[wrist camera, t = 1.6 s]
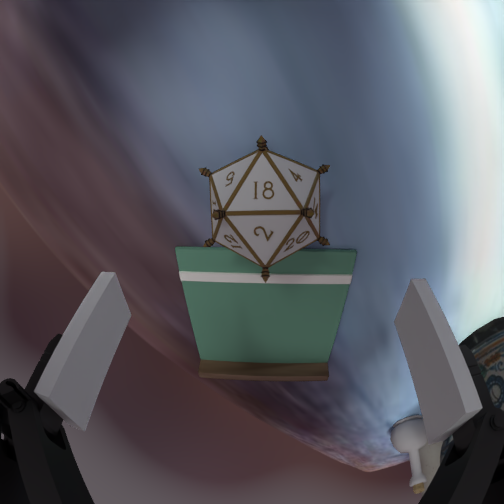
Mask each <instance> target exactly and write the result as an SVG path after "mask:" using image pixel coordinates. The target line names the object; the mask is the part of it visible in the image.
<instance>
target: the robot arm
mask: <svg viewBox="0 0 504 504" xmlns="http://www.w3.org/2000/svg"><path fill="white" fill-rule="evenodd" d="M130 317H131V313H130V311H129V308H128V306H127V303H126V301H125V298H124V295H123V293H122V290H121V287H120V284H119V282H118V279H117V276H116V273H113V272H101V274H100V275H99V277H98V278H97V280H96V281H95V283H94V284H93V286H92V287H91V289H90V291H89V292H88V294H87V295H86V297H85V299H84V300H83V302H82V303H81V305H80V307H79V308H78V310H77V312H76V314H75V315H74V317H73V318H72V320H71V322H70V324H69V325H68V327H67V329H66V330H65V332H64V334H63V335H61V334H58V335H56V336H55V337H54V338H53V339H52V340H51V341H50V342H49V344H48V346H47V348H46V350H45V351H44V354H43V355H42V357H41V359H40V361H39V362H38V364H37V366H36V368H35V370H34V372H33V374H32V376H31V378H30V380H29V382H28V384H27V386H26V388H25V389H23V388H22V387H21V386H20V385H19V384H18V382H16V380H15V379H11V378H9V379H6V380H4V381H2V382H1V383H0V504H94V502H93V500H92V498H91V496H90V494H89V491H88V489H87V487H86V485H85V482H84V480H83V478H82V475H81V473H80V471H79V468H78V466H77V463H76V461H75V459H74V456H73V453H72V450H71V448H70V445H69V442H68V439H67V436H66V433H65V430H64V428H63V426H62V425H61V424H62V421H63V420H64V421H65V422H66V423H68V424H69V425H70V426H72V427H75V428H77V429H80V430H83V431H85V429H86V426H87V423H88V421H89V418H90V415H91V412H92V409H93V406H94V404H95V401H96V398H97V396H98V393H99V391H100V388H101V385H102V383H103V380H104V378H105V375H106V373H107V370H108V368H109V365H110V363H111V361H112V358H113V356H114V353H115V351H116V349H117V346H118V344H119V342H120V339H121V337H122V335H123V333H124V330H125V328H126V326H127V324H128V321H129V319H130ZM394 323H395V326H396V329H397V332H398V335H399V338H400V341H401V344H402V347H403V350H404V353H405V356H406V359H407V362H408V366H409V369H410V372H411V376H412V379H413V383H414V386H415V390H416V394H417V397H418V401H419V405H420V409H421V413H422V417H423V421H424V426H425V430H426V434H427V439H428V444H433V443H437V442H440V441H444V440H445V439H447V438H448V437H449V436H451V435H452V436H453V440H452V441H451V442H450V443H448V444H447V445H445V446H444V447H443V448H442V450H441V452H443V451H445V450H446V449H447V448H448V449H447V451H446V453H445V456H444V458H443V460H442V462H441V464H440V466H439V468H438V470H437V472H436V474H435V476H434V477H433V479H432V481H431V483H430V485H429V486H428V488H427V490H426V492H425V493H424V495H423V497H422V499H421V500H420V502H419V503H418V504H504V411H503V410H502V409H500V408H496V407H495V406H494V404H493V402H492V399H491V396H490V393H489V391H488V388H487V385H486V383H485V380H484V378H483V375H481V370H480V368H479V366H478V363H477V361H476V359H475V356H474V354H473V353H472V351H471V350H470V349H469V348H468V347H467V346H466V345H460V346H459V345H458V343H457V341H456V339H455V336H454V334H453V332H452V330H451V328H450V326H449V324H448V321H447V319H446V317H445V315H444V313H443V311H442V309H441V307H440V305H439V303H438V301H437V299H436V298H435V296H434V294H433V292H432V290H431V288H430V286H429V284H428V283H427V281H426V279H411V281H410V284H409V286H408V289H407V292H406V294H405V297H404V299H403V302H402V304H401V307H400V309H399V312H398V314H397V316H396V319H395V321H394ZM1 433H3V434H4V440H2V439H1Z"/></svg>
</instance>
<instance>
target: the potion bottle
mask: <svg viewBox="0 0 504 504" xmlns="http://www.w3.org/2000/svg"><path fill="white" fill-rule="evenodd" d="M421 418H422V416H421V415H413V416H409V417H406V418H403V419H401V420H399V421H397V422H396V423H395V424H394V425H393V427H394V429H393V430H392V431H391V439H390V440H391V442H392V444H393V446H394V447H395V448H396V449H397V450H398V451H399V452H400V453H409V457H410V464H411V470H412V478H411V480H410V487H411V486H413V491H414V493H420V492H423V491H424V490H425V488H424V482H426V481H427V479H426V476H425V475H424V474H423V473H422V469H421V463H420V457H419V451H418V449H420V448H421V447H423V446H424V445H425V444H426V442H427V434H426V430H425V426H424V421H423V419H421Z"/></svg>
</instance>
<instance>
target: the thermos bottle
mask: <svg viewBox="0 0 504 504" xmlns="http://www.w3.org/2000/svg"><path fill="white" fill-rule="evenodd" d="M442 444H443V441H440V442H437V443H433V444H428V439H427V442H426V444H425V445H424V446H423V447H421V448H420V449H418V451H419V457H420V463H421V469H422V473H423V474H424V475H425V476H426V479H427V481H426V482H424V488H425V490H424V491H423V492H422V497H423V495H424V493H425V492H426V490H427V488H428V486H429V485H430V483H431V481H432V479H433V477H434V476H435V474H436V472H437V470H438V468H439V466H440V452H441V447H442Z"/></svg>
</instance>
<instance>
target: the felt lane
mask: <svg viewBox="0 0 504 504" xmlns="http://www.w3.org/2000/svg"><path fill="white" fill-rule="evenodd" d="M175 252H176V257H177V261H178V266H179V275H180V279H181V281H182V285H183V289H184V294H185V298H186V303H187V307H188V311H189V315H190V319H191V323H192V327H193V331H194V335H195V339H196V343H197V347H198V351H199V355H200V358H201V359H202V360H216V361H232V362H254V363H328V359H329V356H330V353H331V350H332V346H333V343H334V340H335V336H336V333H337V330H338V326H339V323H340V319H341V315H342V312H343V308H344V304H345V300H346V296H347V292H348V288H349V284H350V283H351V279H352V272H353V268H354V263H355V259H356V254H357V251H356V250H343V249H301V250H299V251H297V252H296V253H294V254H292V255H290V256H289V257H287V258H285V259H283V260H282V261H280V262H278V263H276V264H274V265H273V266H271V267H269V268H268V270H269V272H270V273H269V275H270V277H269V278H268V280H267V281H266V283H265V282H264V280H263V278H262V277H261V275H262V273H261V272H262V269H263V268H262V267H260V266H258V265H257V264H255V263H253V262H251V261H249V260H248V259H246V258H244V257H242V256H240V255H238V254H237V253H235V252H233V251H231V250H229V249H228V248H226V247H176V248H175Z"/></svg>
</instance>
